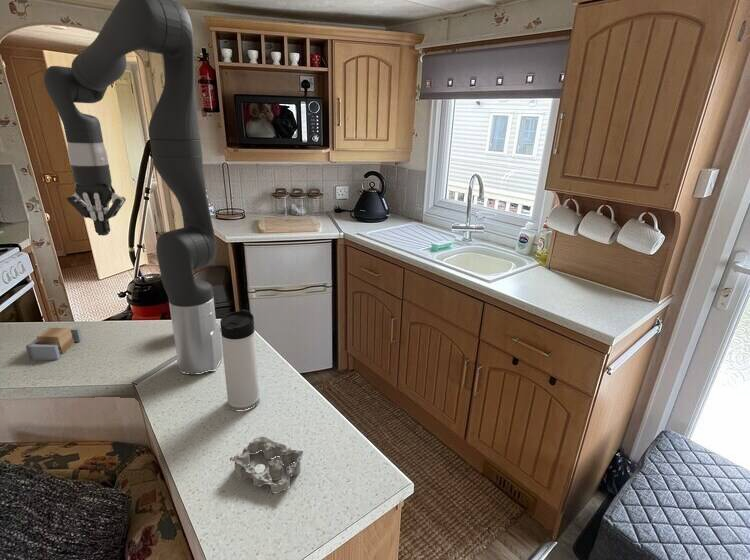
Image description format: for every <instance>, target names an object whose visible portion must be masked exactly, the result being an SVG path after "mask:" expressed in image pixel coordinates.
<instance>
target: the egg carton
mask: <svg viewBox="0 0 750 560" xmlns="http://www.w3.org/2000/svg"><path fill="white" fill-rule="evenodd" d="M260 450H262V451H264V452H263V457H264V456H265V458H267V459H271V458H274V457H275V456H280V458H279V457H276V458H274V459H272V460H268V461H267V466H268V472H264V474H263V475H259V476H258V475H257V474H256V473H255V469H254V468H253V467H254V466H251V464H250V463H251V460H250V459H251V458H250V457H251V455H249V454H250V453H256V452H258V451H260ZM260 452H261V451H260ZM303 454H304V451H303V450H298V449H293V448H292V447H288V445H286V444H282V443H279V442H277V441H273V440H271V439H269V438H268V437H266V436H259V437H256V438H254V439H253V440H252V441H250V442H249V444H248V445H247V446H246V447H243V449H242V452H241V453H240V455H239V454H238V453H237V454H235V455H234V456H233V457H230V458H229V461H232V462H234V471H235V475H236V479H238V480H239V481H243V480H245V479H249V478H248V477H252V478H253V479H252V478H251V479H252V480H253V486H254V485H257V486H256V487H259V486H260V485H261V486H263V485H265V484H264V483H270V484H271V485H270V489H271V490H270V492H271V491H272V492H271V493H273V492H276V493H277V492H278V493H280V492H282V491H281V490H284V489H285V490H287V489H288V487H289V486H290V487H291V482H290V481H291V477H292V476H291V475H295V476H299V475H298V474H300V473H301V472H300V471H301V460H302V457H303ZM265 458H264V459H265ZM267 459H266V460H267ZM249 462H250V463H249ZM293 462H295V463H293ZM291 463H292V464H291ZM248 464H249V465H248ZM283 464H284V465H288V466H286V468H285V470H286V480H284V479H282V478H283V477H282V476H284V465H283ZM289 464H291V465H289ZM290 476H291V477H290ZM281 477H282V478H281ZM244 478H245V479H244ZM278 478H280V479H279V480H277V483H274V482H273V480H272V479H278ZM242 479H243V480H242ZM262 484H263V485H262ZM261 486H260V487H261ZM288 490H289V489H288ZM288 490H287V491H288ZM279 491H280V492H279ZM276 493H275V494H276ZM278 493H277V494H278Z"/></svg>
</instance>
